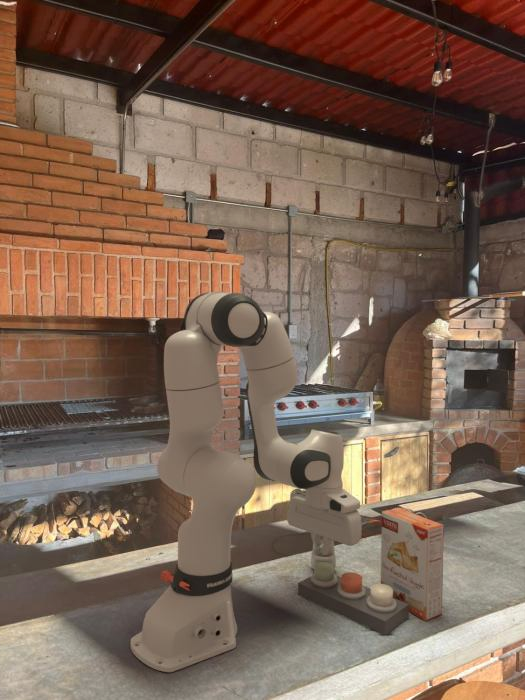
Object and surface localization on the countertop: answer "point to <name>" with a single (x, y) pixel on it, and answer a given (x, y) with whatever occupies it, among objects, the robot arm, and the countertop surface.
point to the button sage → (324, 571)
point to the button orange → (351, 582)
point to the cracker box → (413, 561)
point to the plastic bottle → (323, 558)
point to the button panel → (354, 604)
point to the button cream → (381, 594)
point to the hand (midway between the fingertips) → (321, 553)
